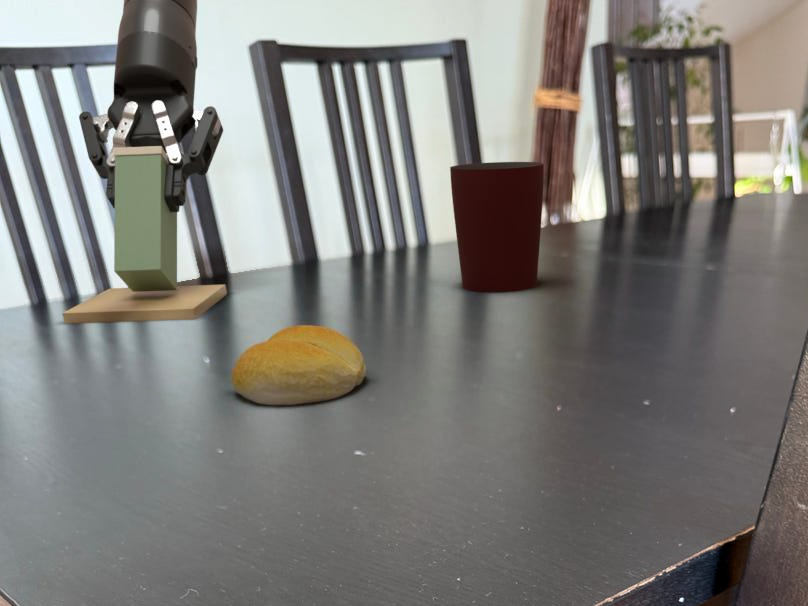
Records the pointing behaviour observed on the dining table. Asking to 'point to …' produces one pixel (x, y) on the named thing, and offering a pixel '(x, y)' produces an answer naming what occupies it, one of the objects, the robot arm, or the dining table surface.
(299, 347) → the bread roll
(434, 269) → the dining table surface
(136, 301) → the post base
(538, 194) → the mug
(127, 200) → the post
